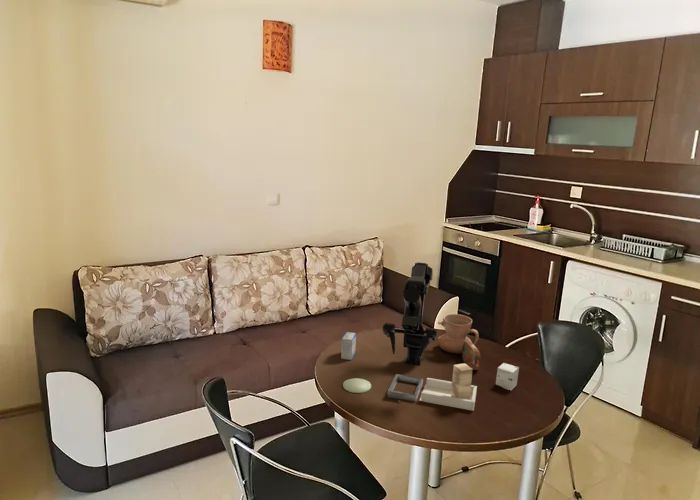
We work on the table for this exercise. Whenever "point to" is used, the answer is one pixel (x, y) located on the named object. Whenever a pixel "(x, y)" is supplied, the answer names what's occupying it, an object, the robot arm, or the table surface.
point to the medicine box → (348, 346)
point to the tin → (471, 355)
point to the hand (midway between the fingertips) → (406, 355)
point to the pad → (357, 385)
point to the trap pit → (403, 395)
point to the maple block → (461, 381)
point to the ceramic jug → (456, 332)
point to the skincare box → (507, 376)
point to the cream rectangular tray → (446, 394)
